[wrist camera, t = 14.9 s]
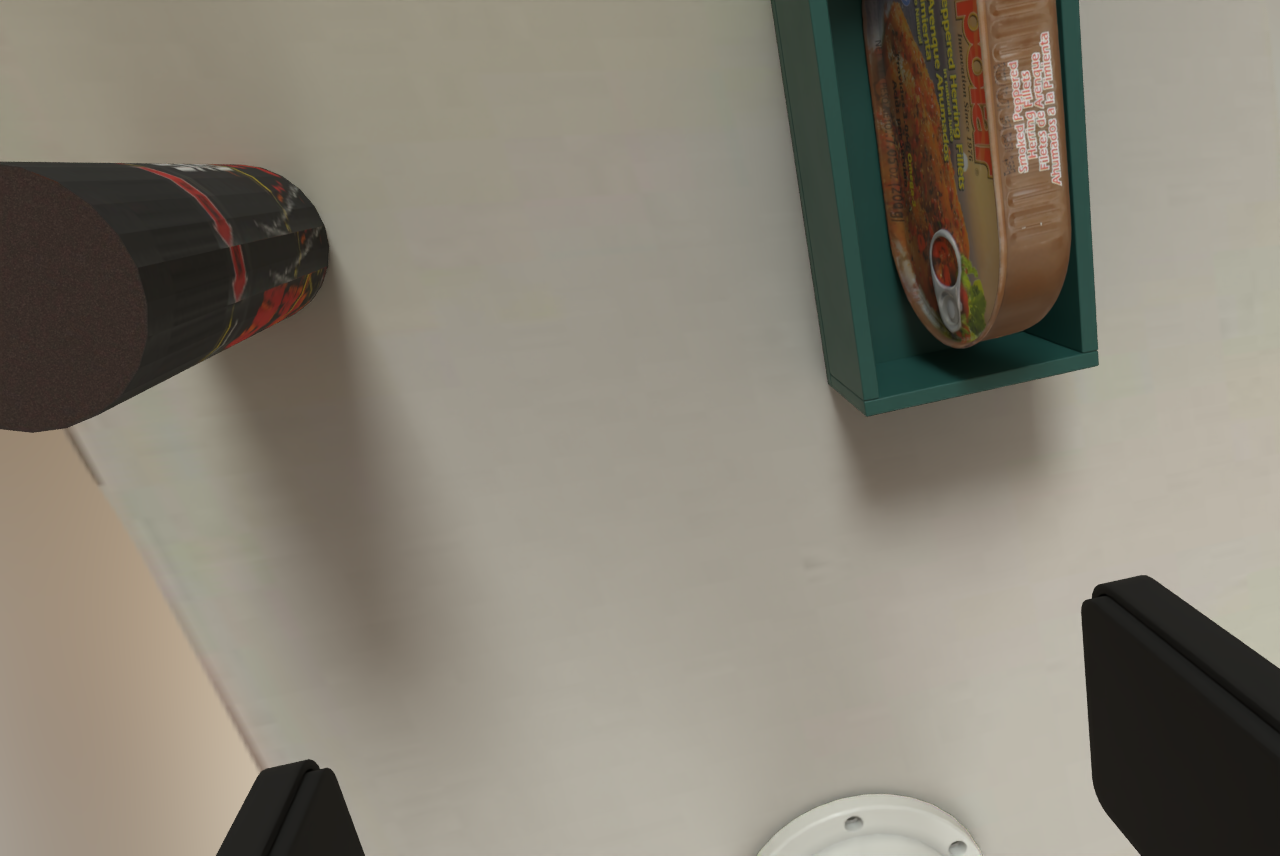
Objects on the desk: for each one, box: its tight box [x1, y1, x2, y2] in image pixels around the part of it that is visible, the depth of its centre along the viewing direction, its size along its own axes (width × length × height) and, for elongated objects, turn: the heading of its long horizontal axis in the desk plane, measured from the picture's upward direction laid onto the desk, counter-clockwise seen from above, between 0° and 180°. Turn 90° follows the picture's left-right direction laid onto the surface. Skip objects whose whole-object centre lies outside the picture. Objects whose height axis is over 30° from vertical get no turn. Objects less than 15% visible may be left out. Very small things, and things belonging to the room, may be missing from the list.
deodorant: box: [0, 162, 329, 433], centre depth 27 cm, size 6×6×15 cm
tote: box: [771, 0, 1099, 417], centre depth 32 cm, size 19×9×5 cm, turn 12°
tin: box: [862, 0, 1071, 348], centre depth 30 cm, size 15×3×8 cm, turn 12°
